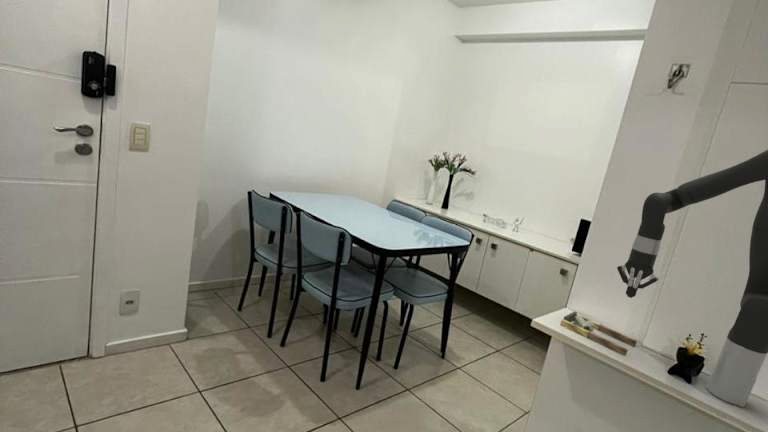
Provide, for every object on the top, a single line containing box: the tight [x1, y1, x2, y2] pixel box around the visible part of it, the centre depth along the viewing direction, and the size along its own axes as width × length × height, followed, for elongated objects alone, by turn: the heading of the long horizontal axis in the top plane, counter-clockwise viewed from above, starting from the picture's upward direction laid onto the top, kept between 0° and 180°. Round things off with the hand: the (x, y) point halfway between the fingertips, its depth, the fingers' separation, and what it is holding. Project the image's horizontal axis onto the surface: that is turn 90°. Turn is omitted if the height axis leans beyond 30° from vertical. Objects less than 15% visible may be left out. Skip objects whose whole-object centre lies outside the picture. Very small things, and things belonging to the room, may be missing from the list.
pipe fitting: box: [572, 314, 595, 332], centre depth 148 cm, size 8×4×7 cm
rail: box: [560, 311, 638, 357], centre depth 145 cm, size 22×14×3 cm, turn 44°
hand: (629, 296), depth 140 cm, fingers closed
